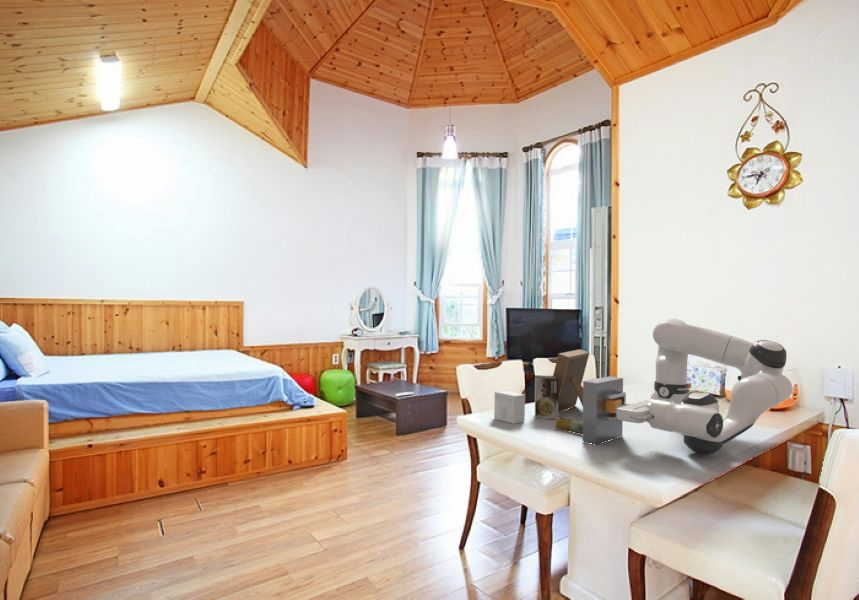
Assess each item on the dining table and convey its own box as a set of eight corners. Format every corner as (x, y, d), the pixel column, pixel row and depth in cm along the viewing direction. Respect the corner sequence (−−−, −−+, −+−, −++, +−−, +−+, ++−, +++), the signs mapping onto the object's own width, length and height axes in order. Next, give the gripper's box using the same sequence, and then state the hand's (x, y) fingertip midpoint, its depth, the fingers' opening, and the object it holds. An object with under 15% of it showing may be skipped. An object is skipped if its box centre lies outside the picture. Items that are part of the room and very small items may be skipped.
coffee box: (557, 415, 194) (557, 375, 193) (558, 419, 187) (559, 378, 187) (534, 414, 195) (534, 374, 195) (534, 418, 189) (535, 377, 189)
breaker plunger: (595, 406, 167) (595, 394, 167) (621, 411, 159) (621, 399, 159) (588, 407, 164) (588, 396, 164) (614, 413, 157) (614, 401, 157)
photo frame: (543, 413, 197) (545, 352, 196) (566, 404, 214) (567, 348, 213) (579, 420, 187) (580, 355, 187) (599, 410, 204) (601, 351, 204)
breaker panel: (608, 433, 169) (609, 376, 169) (630, 438, 163) (631, 379, 163) (582, 441, 159) (583, 381, 159) (604, 447, 153) (605, 384, 153)
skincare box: (525, 421, 184) (525, 394, 184) (514, 424, 180) (514, 396, 180) (504, 416, 192) (505, 389, 192) (493, 418, 188) (493, 391, 188)
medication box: (589, 435, 168) (590, 423, 168) (586, 436, 166) (586, 424, 166) (559, 428, 177) (559, 417, 177) (555, 429, 175) (555, 418, 175)
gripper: (643, 430, 141) (600, 421, 151) (675, 419, 154) (633, 411, 164) (643, 409, 141) (600, 400, 151) (675, 400, 154) (633, 393, 164)
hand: (618, 406), depth 158 cm, fingers closed, pressing on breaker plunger
